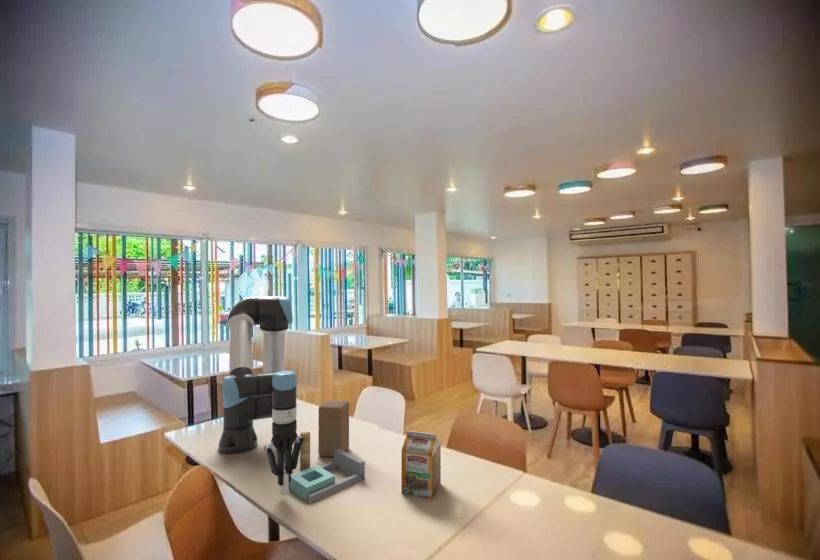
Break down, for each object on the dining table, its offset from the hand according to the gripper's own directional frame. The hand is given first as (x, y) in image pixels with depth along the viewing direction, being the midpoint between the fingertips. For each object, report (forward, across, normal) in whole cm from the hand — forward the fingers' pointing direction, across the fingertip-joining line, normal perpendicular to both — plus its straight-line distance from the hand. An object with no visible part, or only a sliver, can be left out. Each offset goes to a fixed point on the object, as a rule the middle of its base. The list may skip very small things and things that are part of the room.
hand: (284, 493), depth 127 cm
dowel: (+2, +15, +12) cm, 19 cm away
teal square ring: (+2, +10, 0) cm, 10 cm away
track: (+2, +16, 0) cm, 16 cm away
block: (+2, +32, +18) cm, 37 cm away
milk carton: (+2, +36, -27) cm, 45 cm away
